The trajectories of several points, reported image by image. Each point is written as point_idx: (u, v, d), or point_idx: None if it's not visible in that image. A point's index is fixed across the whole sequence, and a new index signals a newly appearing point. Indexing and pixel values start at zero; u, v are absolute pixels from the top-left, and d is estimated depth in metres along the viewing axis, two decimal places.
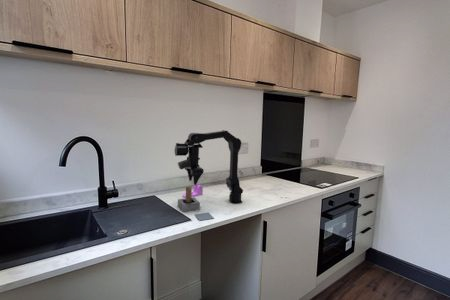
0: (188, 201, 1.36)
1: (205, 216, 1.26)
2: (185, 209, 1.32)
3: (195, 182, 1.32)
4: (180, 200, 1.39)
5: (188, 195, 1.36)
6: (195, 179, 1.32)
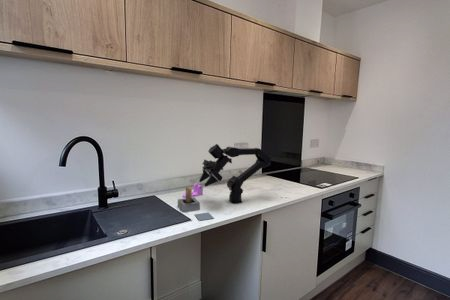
0: (188, 201, 1.36)
1: (205, 216, 1.26)
2: (185, 209, 1.32)
3: (207, 184, 1.35)
4: (180, 200, 1.39)
5: (188, 195, 1.36)
6: (209, 181, 1.35)
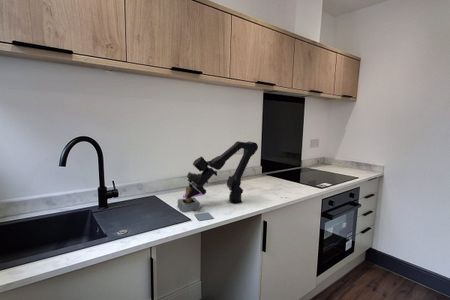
0: (188, 201, 1.36)
1: (205, 216, 1.26)
2: (185, 209, 1.32)
3: (189, 196, 1.35)
4: (180, 200, 1.39)
5: None
6: (191, 193, 1.35)
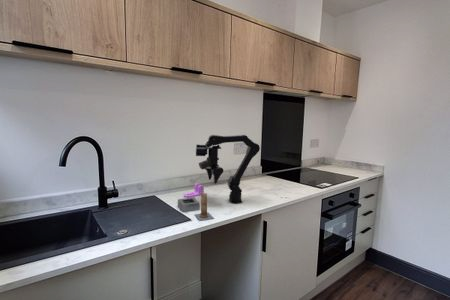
0: (205, 209, 1.25)
1: None
2: (185, 209, 1.32)
3: (215, 181, 1.42)
4: (180, 200, 1.39)
5: (205, 202, 1.24)
6: (215, 178, 1.41)
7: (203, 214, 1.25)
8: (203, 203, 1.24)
